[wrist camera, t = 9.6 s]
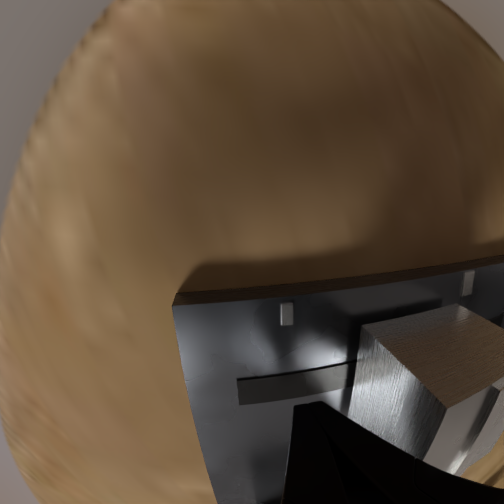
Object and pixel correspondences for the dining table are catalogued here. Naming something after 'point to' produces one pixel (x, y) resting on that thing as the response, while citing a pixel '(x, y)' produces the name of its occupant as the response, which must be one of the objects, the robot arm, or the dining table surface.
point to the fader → (432, 385)
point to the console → (296, 357)
